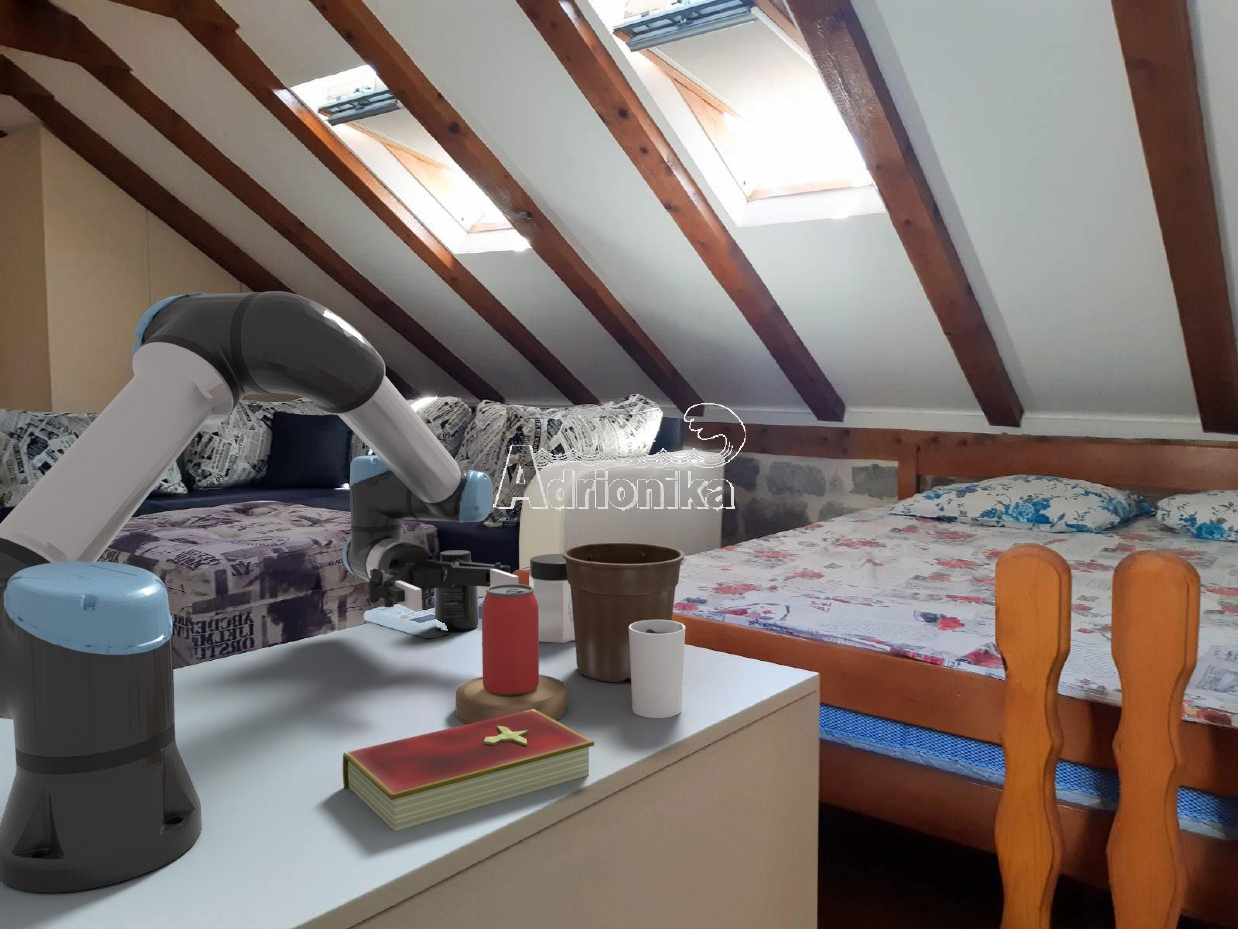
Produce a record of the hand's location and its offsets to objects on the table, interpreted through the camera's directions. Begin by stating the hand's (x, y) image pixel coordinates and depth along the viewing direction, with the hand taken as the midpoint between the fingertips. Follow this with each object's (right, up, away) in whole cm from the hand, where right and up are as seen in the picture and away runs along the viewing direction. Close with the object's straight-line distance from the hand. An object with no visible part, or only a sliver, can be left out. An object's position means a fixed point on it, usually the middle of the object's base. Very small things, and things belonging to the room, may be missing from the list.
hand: (469, 593), depth 120 cm
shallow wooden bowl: (+6, -13, -8) cm, 16 cm away
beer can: (+6, -10, -8) cm, 14 cm away
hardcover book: (+4, -15, -28) cm, 32 cm away
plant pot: (+20, -12, +8) cm, 24 cm away
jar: (+9, -10, +25) cm, 29 cm away
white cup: (+23, -13, -8) cm, 28 cm away
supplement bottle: (-7, -10, +31) cm, 33 cm away
